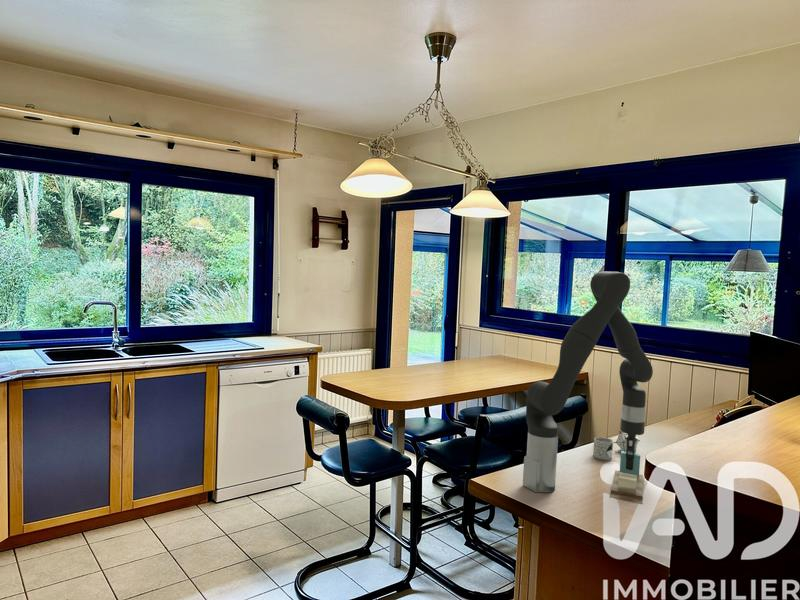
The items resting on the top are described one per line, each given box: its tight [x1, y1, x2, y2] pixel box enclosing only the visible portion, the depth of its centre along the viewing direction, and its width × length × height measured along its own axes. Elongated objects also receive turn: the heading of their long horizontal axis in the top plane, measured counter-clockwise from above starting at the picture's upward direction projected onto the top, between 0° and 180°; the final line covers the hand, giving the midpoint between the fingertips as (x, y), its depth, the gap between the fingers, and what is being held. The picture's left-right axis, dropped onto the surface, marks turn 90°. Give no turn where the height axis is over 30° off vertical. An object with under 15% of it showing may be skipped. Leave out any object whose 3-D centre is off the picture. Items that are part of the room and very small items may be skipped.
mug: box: [592, 436, 614, 461], centre depth 198 cm, size 10×7×7 cm, turn 151°
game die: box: [613, 430, 641, 452], centre depth 204 cm, size 9×8×10 cm
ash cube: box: [618, 472, 637, 494], centre depth 160 cm, size 5×5×5 cm
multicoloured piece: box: [609, 450, 645, 505], centre depth 166 cm, size 26×9×8 cm, turn 154°
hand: (629, 465), depth 177 cm, fingers open, 8 cm apart
